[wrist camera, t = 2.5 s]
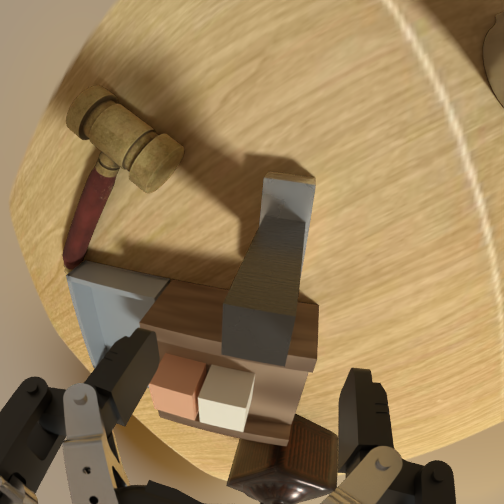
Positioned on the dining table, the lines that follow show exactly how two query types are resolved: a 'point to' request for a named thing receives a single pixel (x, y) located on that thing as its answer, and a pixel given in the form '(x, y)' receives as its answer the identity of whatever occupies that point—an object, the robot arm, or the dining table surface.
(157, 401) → the terracotta cube
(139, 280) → the tray
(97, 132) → the gavel
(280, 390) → the slot block
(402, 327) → the dining table surface
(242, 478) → the antique coffee grinder
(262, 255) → the grey upright post
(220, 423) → the off-white cube
